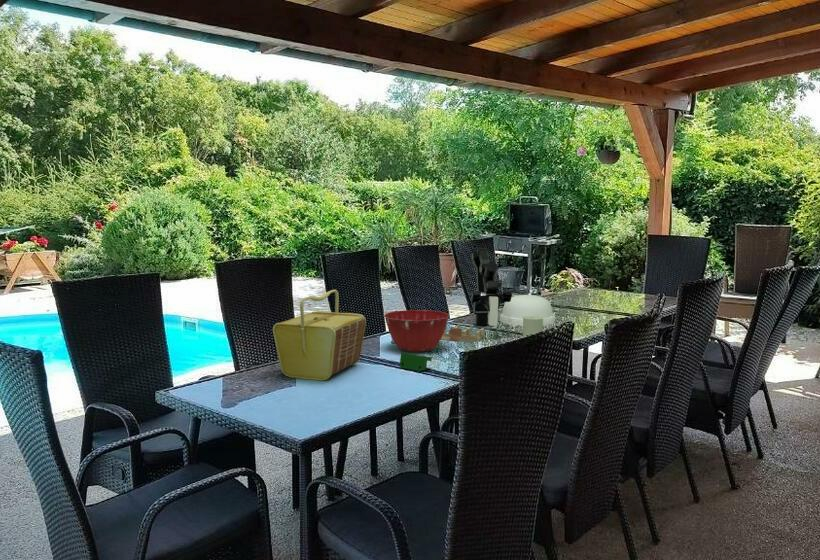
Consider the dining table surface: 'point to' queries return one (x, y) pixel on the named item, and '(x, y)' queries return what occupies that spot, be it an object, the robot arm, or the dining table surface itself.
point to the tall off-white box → (493, 311)
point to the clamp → (414, 361)
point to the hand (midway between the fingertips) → (493, 311)
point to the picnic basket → (319, 341)
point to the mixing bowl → (416, 329)
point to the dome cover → (527, 310)
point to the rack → (463, 335)
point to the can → (532, 324)
